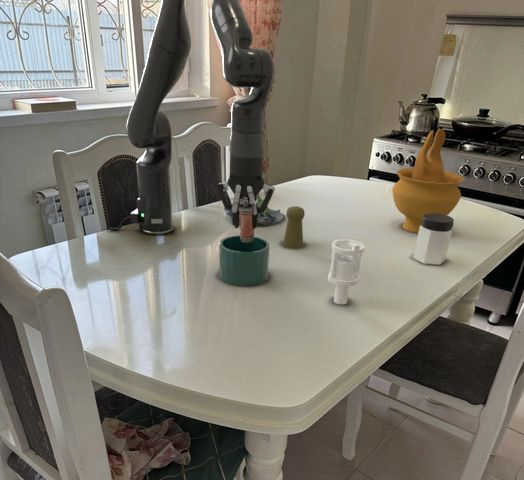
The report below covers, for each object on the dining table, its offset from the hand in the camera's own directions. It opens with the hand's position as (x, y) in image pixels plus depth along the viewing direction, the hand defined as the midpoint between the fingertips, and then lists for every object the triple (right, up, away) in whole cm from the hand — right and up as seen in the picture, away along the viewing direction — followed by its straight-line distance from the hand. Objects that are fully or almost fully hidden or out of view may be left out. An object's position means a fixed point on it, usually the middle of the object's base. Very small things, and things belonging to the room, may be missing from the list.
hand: (244, 227), depth 121 cm
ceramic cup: (-1, -11, +6) cm, 12 cm away
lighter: (+1, -2, +1) cm, 2 cm away
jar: (+52, -4, +22) cm, 56 cm away
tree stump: (+2, +14, +47) cm, 49 cm away
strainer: (+22, -18, -4) cm, 29 cm away
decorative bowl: (+56, +11, +45) cm, 73 cm away
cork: (+13, +1, +27) cm, 30 cm away
